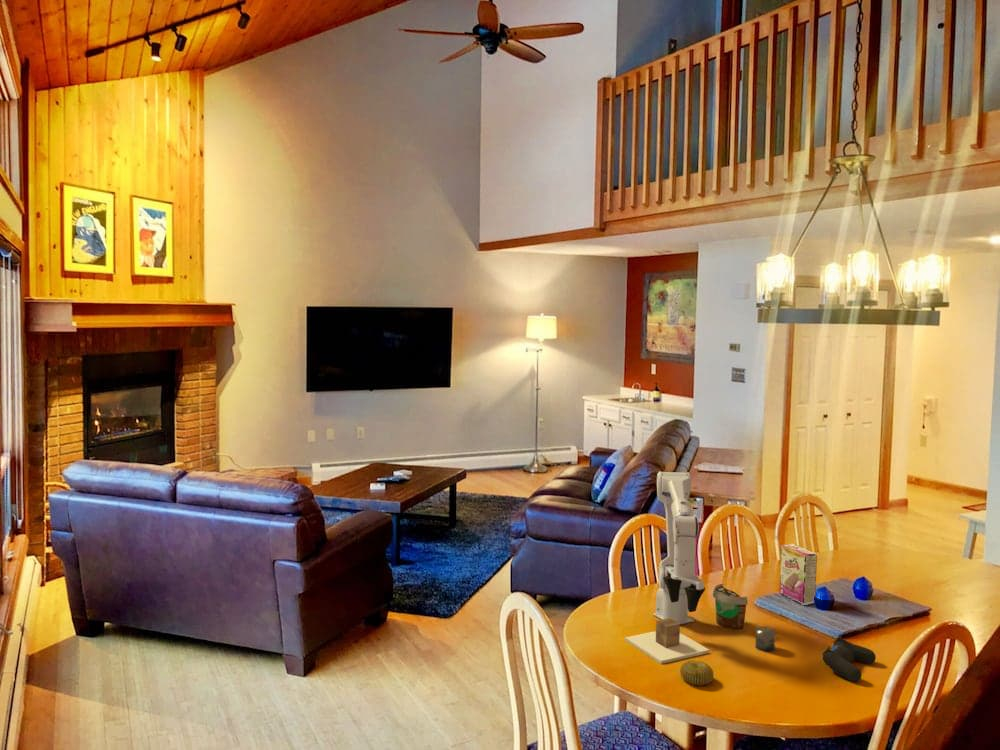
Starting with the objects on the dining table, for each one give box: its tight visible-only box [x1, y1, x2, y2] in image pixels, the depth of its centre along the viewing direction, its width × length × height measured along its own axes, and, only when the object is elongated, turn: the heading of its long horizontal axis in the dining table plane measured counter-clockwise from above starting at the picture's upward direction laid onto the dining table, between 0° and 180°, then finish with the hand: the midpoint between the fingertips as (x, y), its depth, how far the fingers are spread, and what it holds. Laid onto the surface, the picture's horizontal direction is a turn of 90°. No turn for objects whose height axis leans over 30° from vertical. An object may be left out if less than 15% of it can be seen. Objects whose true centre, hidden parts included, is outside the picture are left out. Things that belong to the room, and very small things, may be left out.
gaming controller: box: [822, 634, 877, 683], centre depth 204 cm, size 17×6×10 cm
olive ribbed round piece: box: [679, 660, 714, 686], centre depth 196 cm, size 8×4×8 cm
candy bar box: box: [779, 543, 818, 603], centre depth 251 cm, size 11×5×16 cm, turn 22°
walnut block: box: [655, 618, 681, 648], centre depth 215 cm, size 4×4×6 cm
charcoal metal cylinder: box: [754, 626, 776, 653], centre depth 215 cm, size 5×5×5 cm
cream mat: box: [624, 630, 710, 665], centre depth 216 cm, size 16×16×1 cm
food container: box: [712, 583, 749, 631], centre depth 231 cm, size 12×6×10 cm, turn 21°
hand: (683, 606), depth 220 cm, fingers open, 7 cm apart
